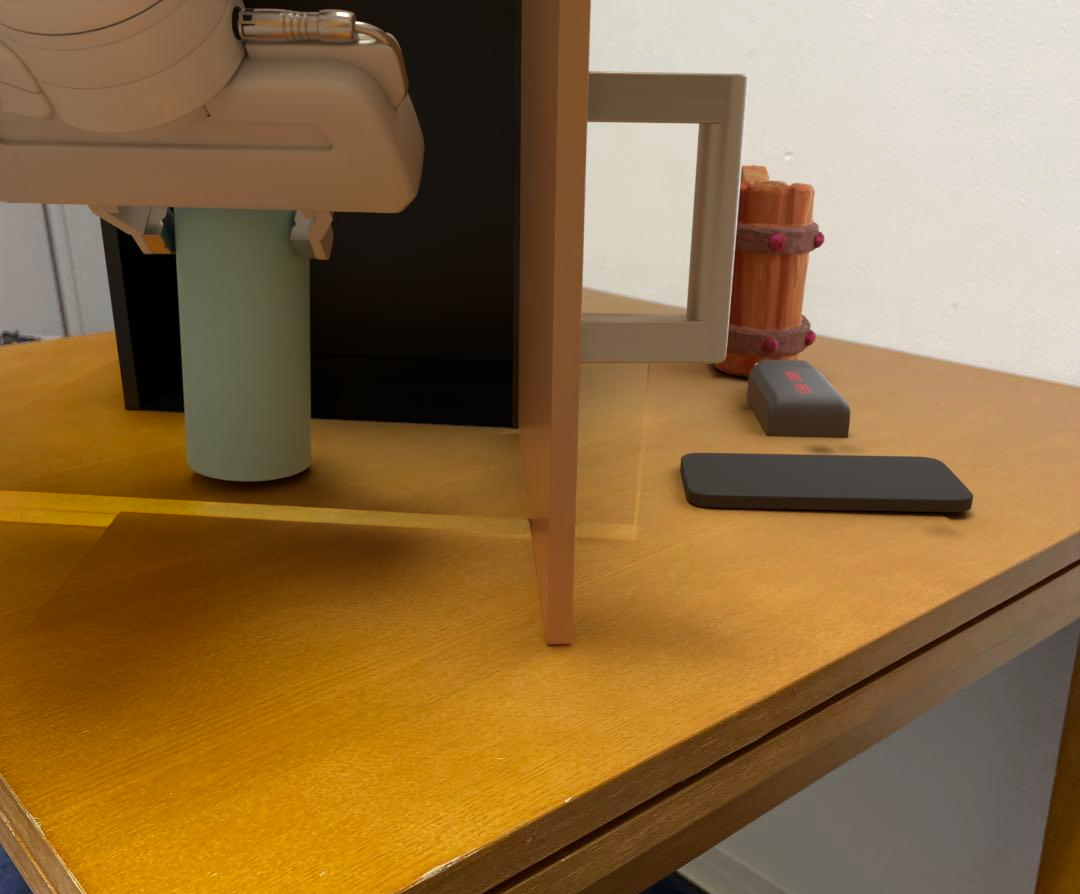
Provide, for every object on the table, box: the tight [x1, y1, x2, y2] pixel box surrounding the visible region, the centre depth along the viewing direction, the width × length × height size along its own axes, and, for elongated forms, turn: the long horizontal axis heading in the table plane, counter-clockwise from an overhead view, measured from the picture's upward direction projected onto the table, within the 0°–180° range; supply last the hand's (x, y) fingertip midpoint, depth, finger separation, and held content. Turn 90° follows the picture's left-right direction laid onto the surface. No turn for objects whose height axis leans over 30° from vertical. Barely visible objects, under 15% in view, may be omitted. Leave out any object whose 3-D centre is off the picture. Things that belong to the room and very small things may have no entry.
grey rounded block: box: [746, 359, 851, 439], centre depth 75 cm, size 5×12×3 cm, turn 178°
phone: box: [679, 452, 974, 513], centre depth 60 cm, size 7×1×15 cm
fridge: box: [99, 0, 522, 430], centre depth 71 cm, size 18×26×32 cm
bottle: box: [173, 207, 312, 482], centre depth 55 cm, size 6×6×20 cm
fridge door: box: [517, 0, 750, 645], centre depth 49 cm, size 7×26×32 cm, turn 4°
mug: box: [713, 164, 825, 379], centre depth 86 cm, size 15×8×15 cm, turn 0°
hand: (239, 245), depth 54 cm, fingers closed on bottle, 6 cm apart
